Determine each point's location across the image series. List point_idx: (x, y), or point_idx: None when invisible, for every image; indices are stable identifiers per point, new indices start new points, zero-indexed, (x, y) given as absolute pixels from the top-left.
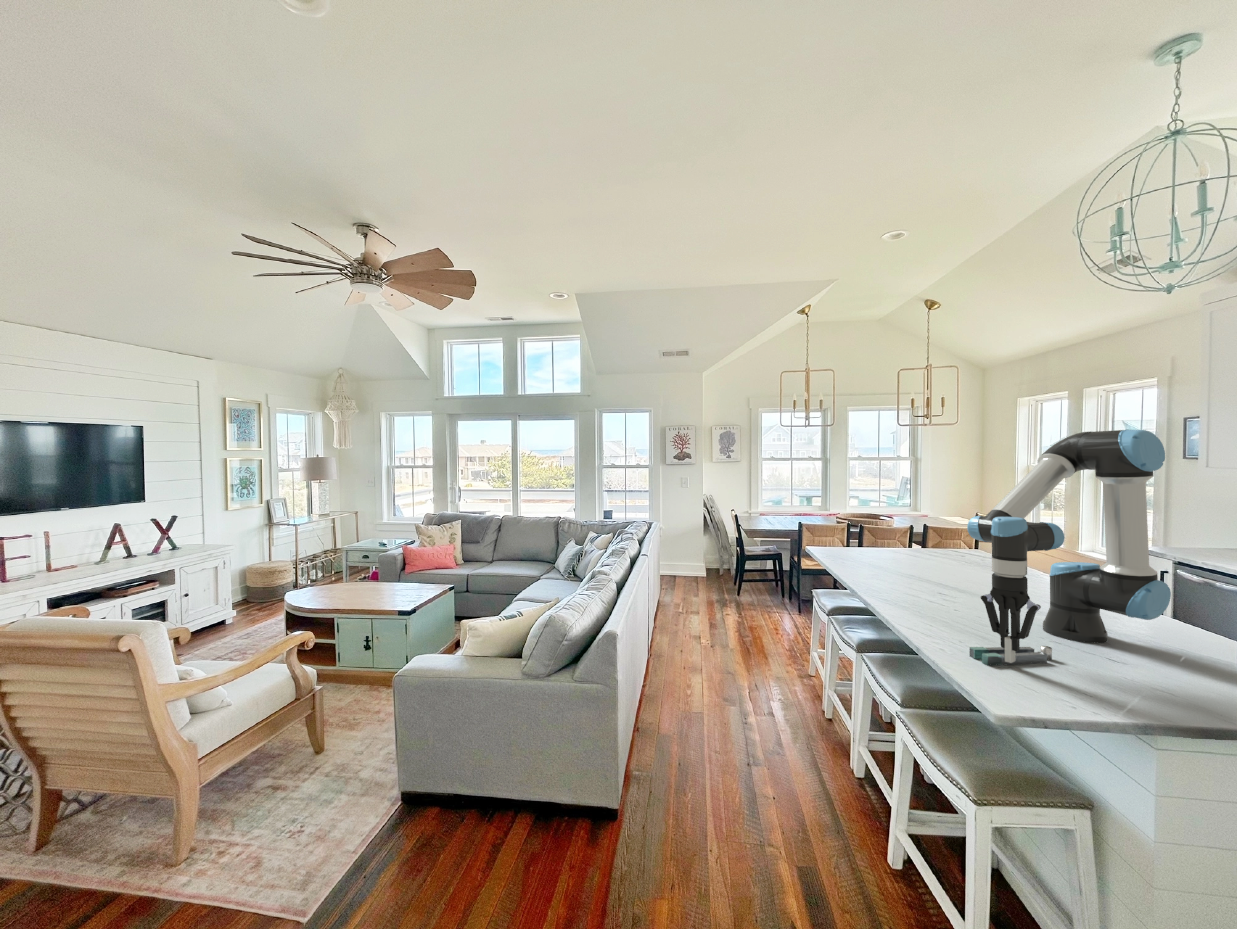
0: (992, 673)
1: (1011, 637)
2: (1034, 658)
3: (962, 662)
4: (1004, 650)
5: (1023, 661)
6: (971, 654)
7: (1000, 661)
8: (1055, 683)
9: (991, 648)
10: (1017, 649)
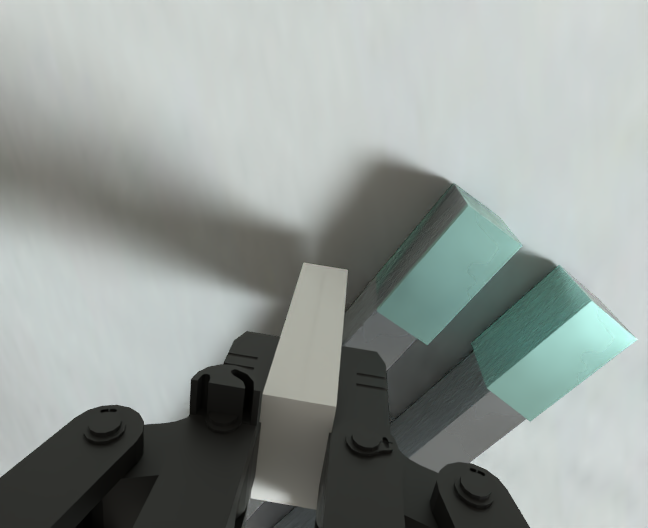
0: (399, 41)
1: (237, 385)
2: None
3: (643, 119)
4: None
5: None
6: (593, 296)
7: (382, 281)
8: (50, 200)
9: (470, 437)
10: (233, 345)
